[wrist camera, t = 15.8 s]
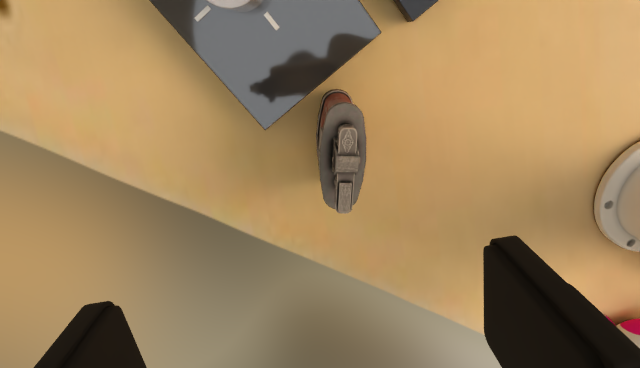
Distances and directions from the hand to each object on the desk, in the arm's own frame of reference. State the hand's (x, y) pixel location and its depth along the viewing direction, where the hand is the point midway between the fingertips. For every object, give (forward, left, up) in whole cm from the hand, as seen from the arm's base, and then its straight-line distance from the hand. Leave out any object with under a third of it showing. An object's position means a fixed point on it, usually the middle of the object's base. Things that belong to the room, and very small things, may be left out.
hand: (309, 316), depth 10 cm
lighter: (-3, -1, -26) cm, 27 cm away
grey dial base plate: (+9, -3, -26) cm, 28 cm away
